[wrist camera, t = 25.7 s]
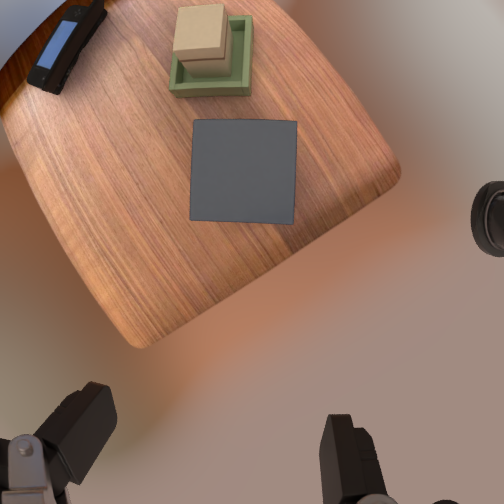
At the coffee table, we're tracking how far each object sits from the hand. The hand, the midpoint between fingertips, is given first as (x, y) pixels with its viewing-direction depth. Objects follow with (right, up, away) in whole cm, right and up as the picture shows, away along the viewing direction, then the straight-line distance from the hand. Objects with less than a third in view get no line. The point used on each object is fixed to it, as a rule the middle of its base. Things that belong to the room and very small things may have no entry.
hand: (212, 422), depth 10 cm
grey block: (+2, +15, +28) cm, 32 cm away
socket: (-3, +31, +26) cm, 40 cm away
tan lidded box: (-4, +31, +25) cm, 40 cm away
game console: (-26, +38, +26) cm, 53 cm away
